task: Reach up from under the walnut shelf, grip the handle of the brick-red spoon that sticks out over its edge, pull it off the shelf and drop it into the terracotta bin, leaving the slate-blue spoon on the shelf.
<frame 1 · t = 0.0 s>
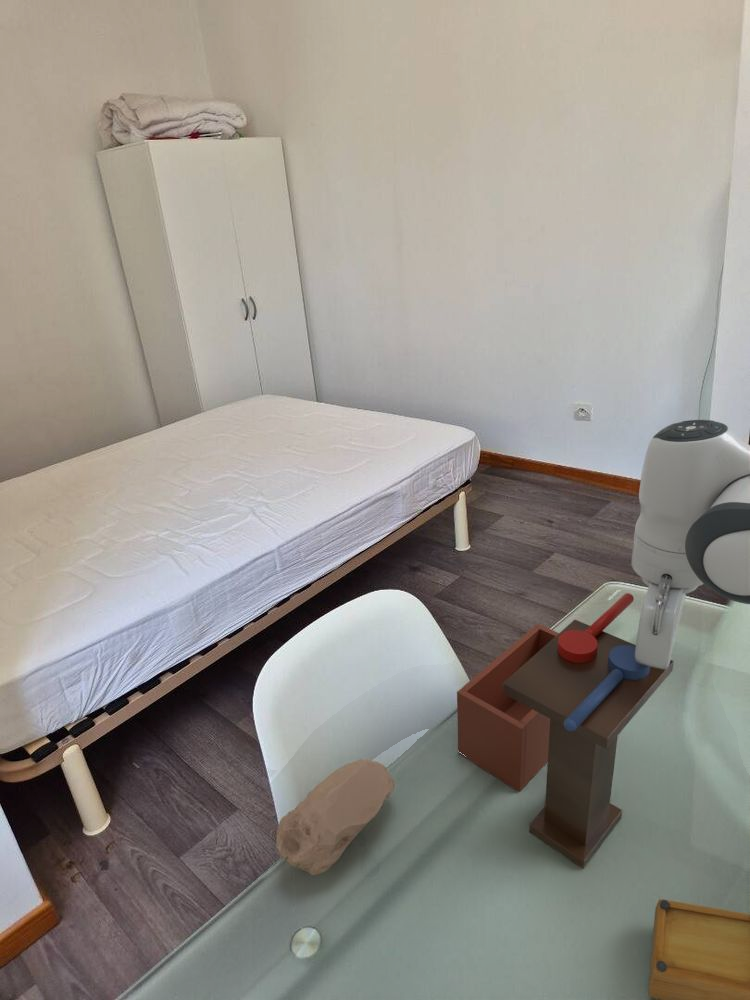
hand: (659, 650, 86), 24 cm above the table, tool pointing down, fingers open, 4 cm apart
red spoon: (593, 635, 86), point 26 cm above the table, touching shelf stand
bin: (527, 731, 107), on the table
shelf stand: (575, 825, 91), on the table
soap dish: (708, 940, 71), point 7 cm above the table
rock: (355, 802, 88), point 8 cm above the table
blue spoon: (611, 684, 78), point 26 cm above the table, touching shelf stand
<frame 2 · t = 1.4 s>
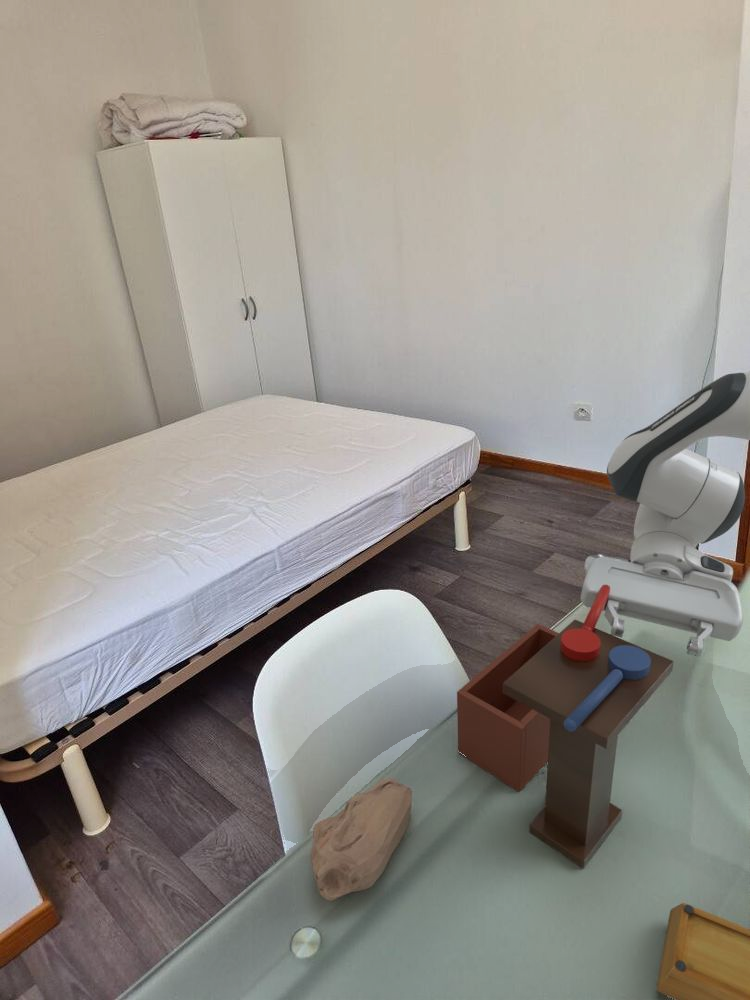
hand: (655, 643, 88), 23 cm above the table, tool horizontal, fingers open, 8 cm apart
red spoon: (588, 630, 87), point 26 cm above the table
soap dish: (732, 953, 71), point 5 cm above the table
rock: (392, 851, 86), point 3 cm above the table
everything else where it was.
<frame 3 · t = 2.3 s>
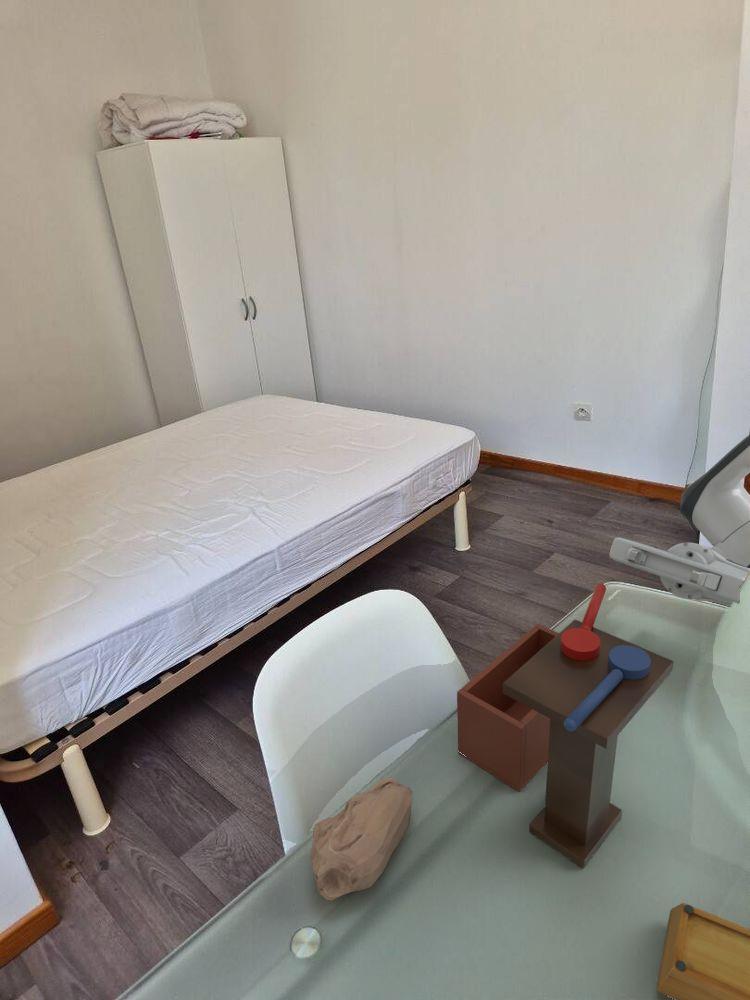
hand: (662, 566, 98), 27 cm above the table, tool pointing upward, fingers open, 8 cm apart
red spoon: (586, 630, 87), point 26 cm above the table, touching shelf stand
everything else where it was.
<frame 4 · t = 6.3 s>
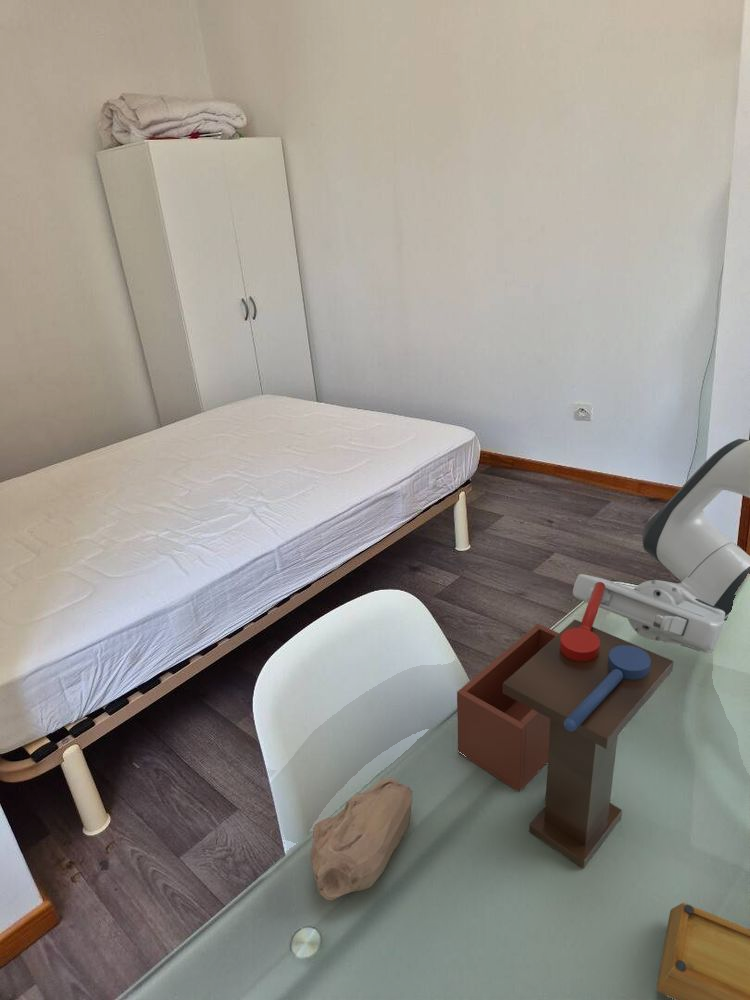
hand: (625, 608, 91), 26 cm above the table, tool pointing upward, fingers open, 8 cm apart
red spoon: (586, 629, 87), point 26 cm above the table, touching gripper, shelf stand
everything else where it was.
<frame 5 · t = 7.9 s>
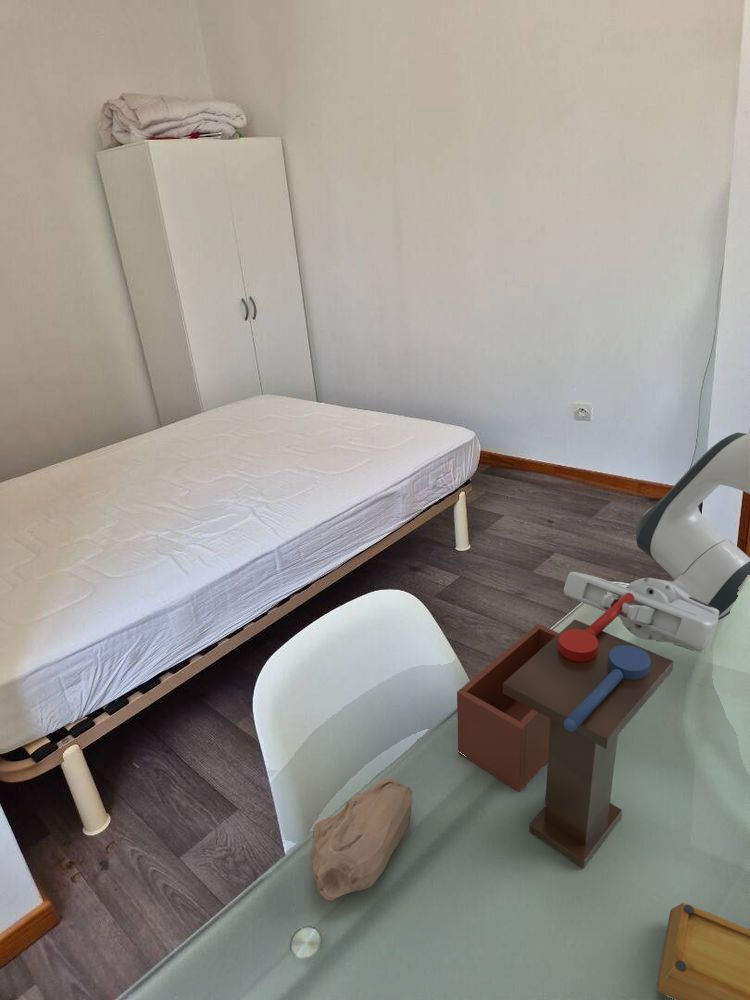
hand: (616, 606, 89), 27 cm above the table, tool pointing upward, fingers closed on red spoon, 1 cm apart
red spoon: (594, 634, 86), point 26 cm above the table, touching gripper
everything else where it was.
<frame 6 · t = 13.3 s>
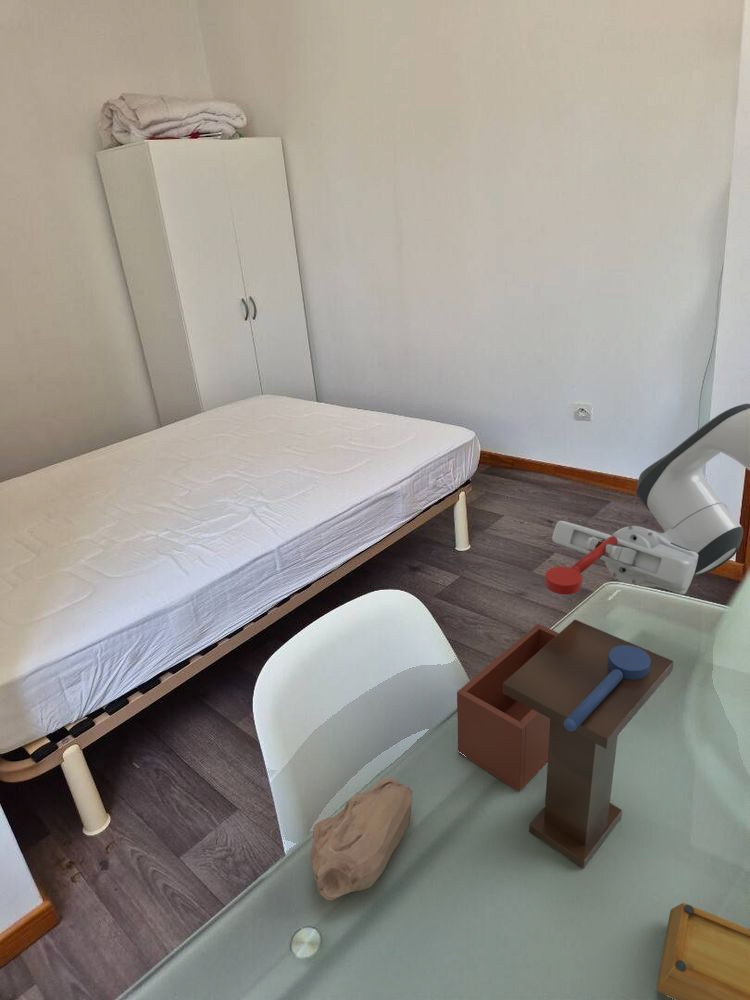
hand: (600, 548, 95), 31 cm above the table, tool pointing upward, fingers closed on red spoon
red spoon: (579, 571, 92), point 30 cm above the table, touching gripper
everything else where it was.
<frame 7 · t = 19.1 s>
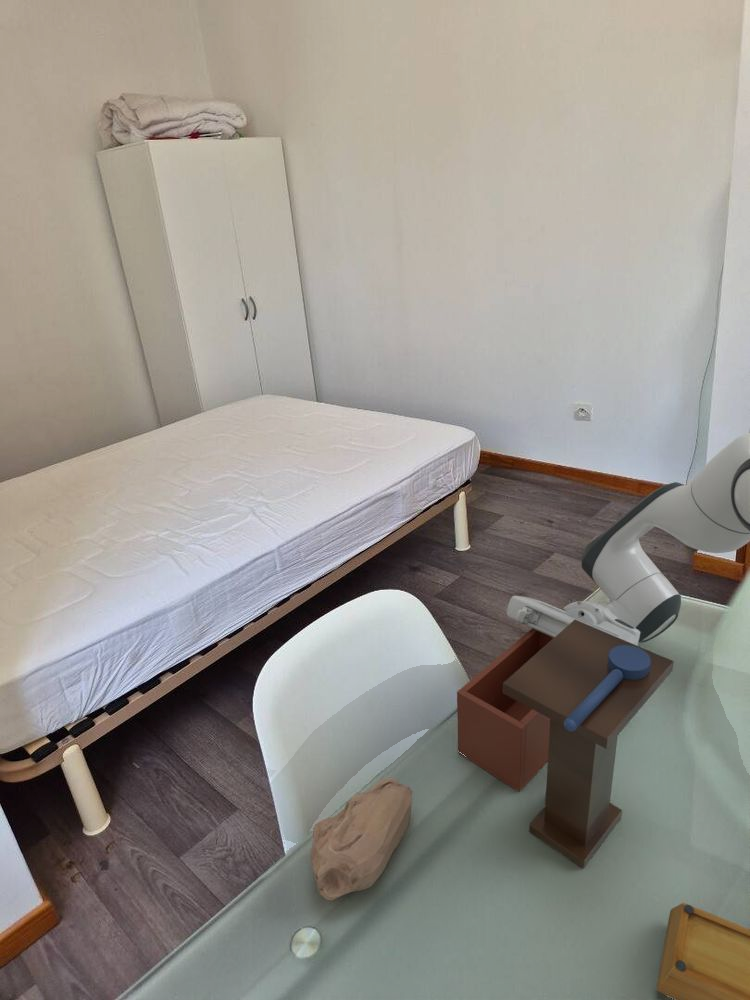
hand: (547, 629, 102), 17 cm above the table, tool pointing upward, fingers open, 8 cm apart
red spoon: (525, 730, 106), point 1 cm above the table, touching bin
everything else where it was.
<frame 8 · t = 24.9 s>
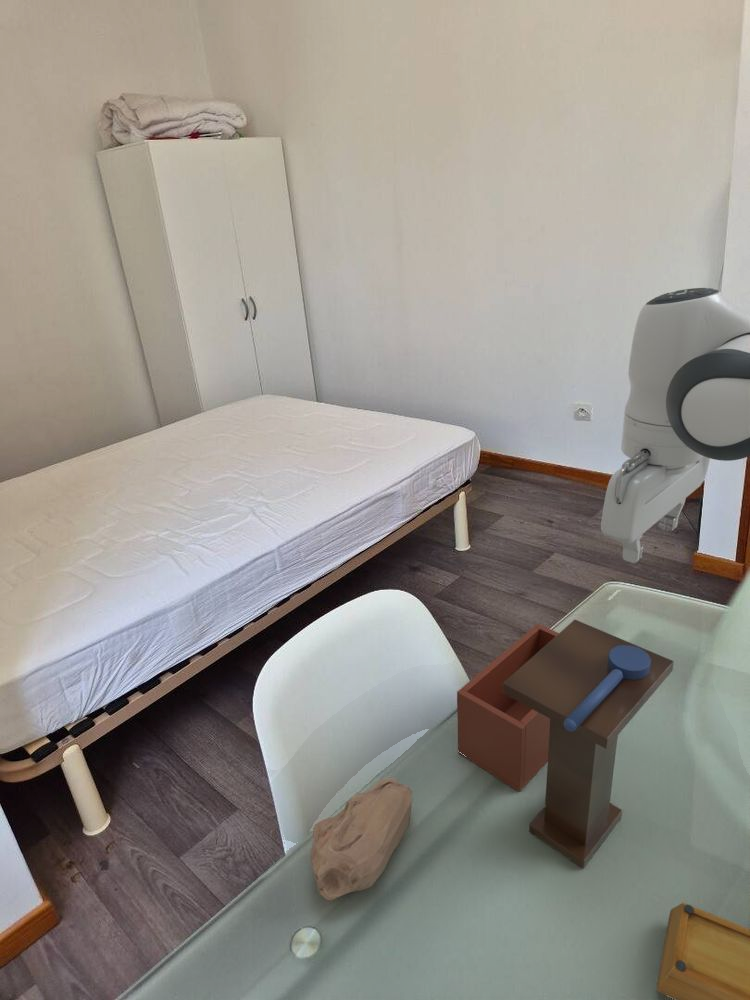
hand: (650, 543, 84), 37 cm above the table, tool pointing down, fingers open, 8 cm apart
nothing on the table moved.
at the end: red spoon inside the target area in the bin (1.0 cm from its centre), point 1.0 cm above the bin's base; blue spoon moved 0.0 cm from its start; the gripper is holding nothing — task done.
